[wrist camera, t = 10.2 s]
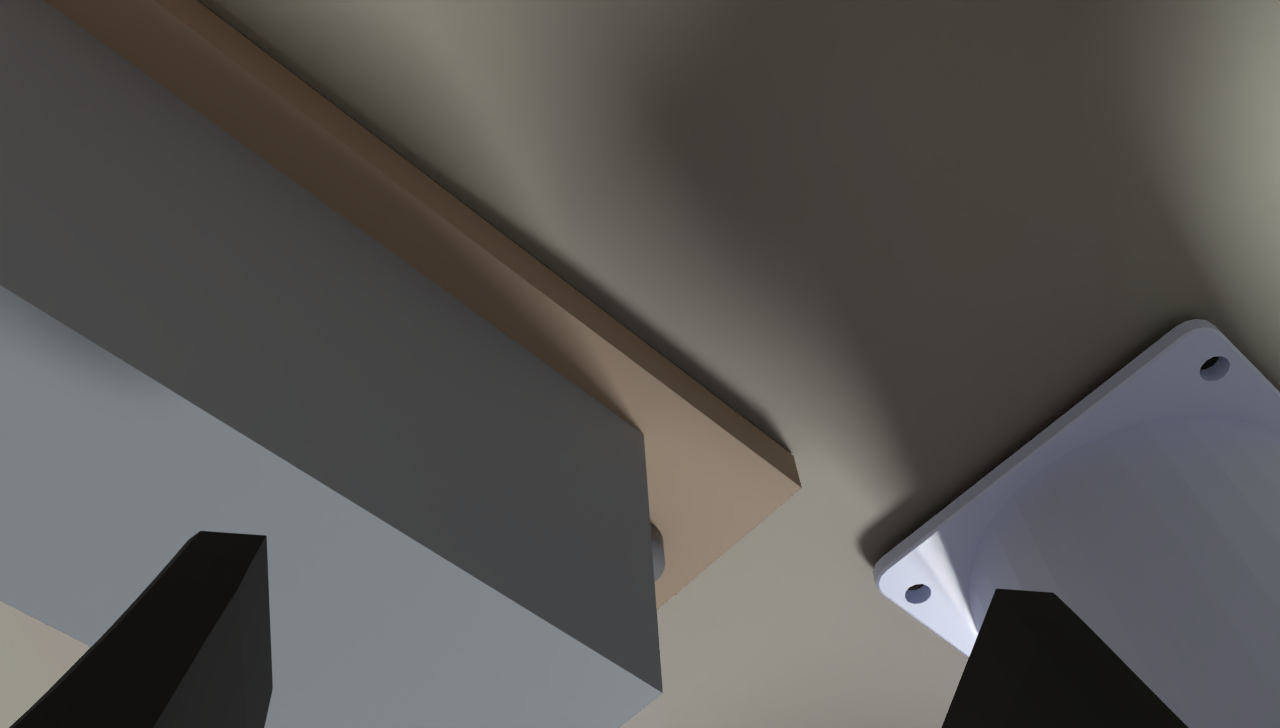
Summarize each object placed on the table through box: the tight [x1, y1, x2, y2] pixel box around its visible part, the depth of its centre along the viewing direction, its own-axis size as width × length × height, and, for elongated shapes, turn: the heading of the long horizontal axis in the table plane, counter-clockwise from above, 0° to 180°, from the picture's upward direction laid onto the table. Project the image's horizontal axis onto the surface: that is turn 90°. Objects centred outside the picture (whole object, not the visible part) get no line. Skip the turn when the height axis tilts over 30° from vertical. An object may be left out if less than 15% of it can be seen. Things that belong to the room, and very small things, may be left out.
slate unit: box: [0, 0, 802, 728], centre depth 17 cm, size 18×6×7 cm, turn 48°
